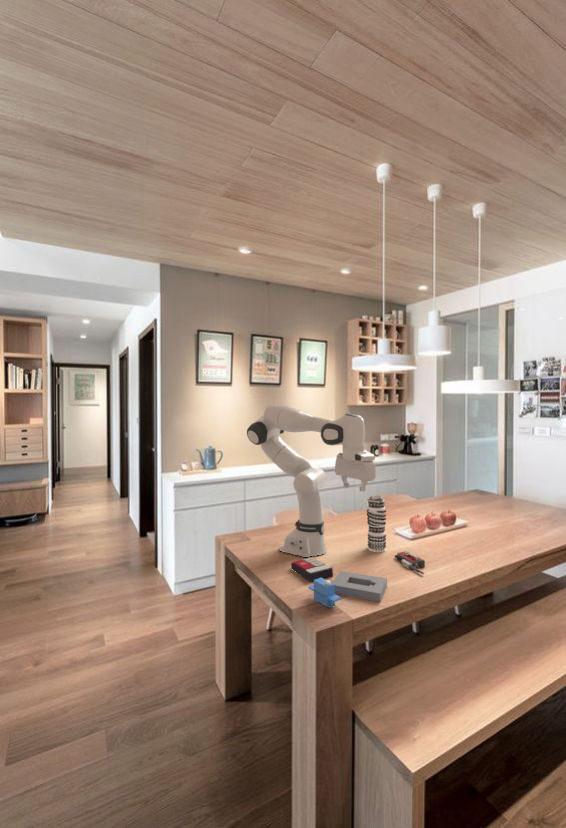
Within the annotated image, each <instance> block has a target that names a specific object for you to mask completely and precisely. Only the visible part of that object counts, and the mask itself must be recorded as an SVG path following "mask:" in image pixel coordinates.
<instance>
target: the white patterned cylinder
mask: <svg viewBox="0 0 566 828" xmlns="http://www.w3.org/2000/svg"><path fill="white" fill-rule="evenodd" d="M367 501H368V503H367V509H366V517H367V518H366V519H367V526H368V531H367V550H368V549H369V550H368V551H370V552H372V551H373V552H374V553H384V552H386V551H387V541H386V540H387V538H386V537H387V534H386V530H385V529H386V525H387V524H386V523H387V522H386V520H387V518H386V517H387V514H386V513H387V510H386V506H385V501H386V499H384V497H382V496H381V495H371V496H370V497H369V498H368V499H367ZM373 552H372V553H373Z"/></svg>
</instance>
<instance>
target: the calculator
mask: <svg viewBox="0 0 566 828" xmlns="http://www.w3.org/2000/svg"><path fill="white" fill-rule="evenodd" d="M290 565H291V570H292V569H293V570H294V571H296V572H297V573H298V574H297V573H296V572H295V573H296V574H297V575H299V574H300V575H301V577H302V578H303V579H304V580H306V581H307V580H308V581H307V582H309V583H310V582H312V583H314V580H315V579H318V578H323V579H325V580H327V579H330V578H332V577H333V578H334V572H333V567H332V566H330V565H328V564H326V563H325V562H323V561H320V560H318V559H316V558H315V557H314V556H312V557H308V558H303V559H298V560H294V561H292V563H291V564H290ZM293 570H292V571H293ZM294 571H293V572H294ZM300 575H299V576H300Z"/></svg>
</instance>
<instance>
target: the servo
mask: <svg viewBox="0 0 566 828" xmlns="http://www.w3.org/2000/svg"><path fill="white" fill-rule="evenodd" d="M308 589H309V590H311V591H312V592H313V600H314V601H315V602H317V601H318V602H320V603H322V604H324V605H325V606H330V607H333V606H335V607H336V605H335V604H336V602H338V601H340V600H341V599H342V598H341V596H339V595H338V594H335V586H334V584H333V583H332V582H331V580H329V579H323V578H318V579H315V580H314V582H313V584H311V585H309V586H308ZM318 602H317V603H318ZM320 603H319V604H320ZM322 604H321V605H322ZM325 606H324V607H325ZM330 607H329V608H330ZM333 608H334V607H333Z"/></svg>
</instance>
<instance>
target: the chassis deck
mask: <svg viewBox="0 0 566 828" xmlns="http://www.w3.org/2000/svg"><path fill="white" fill-rule="evenodd" d="M331 583H333V584H334V586H335V595H341V596H346V597H352V598H356V599H363V600H368V601H373V602H377V603H378V602H379V603H381V601H382V599H383V597H384V594H385V592H386V590H387V588H388V578H387V577H381V576H380V577H379V576H374V575H368V574H362V573H358V572H357V573H356V572H350V571H344V570H340V571H339V572H338V574H337V575H336V577H335V578H334V579H333V581H332V582H331Z"/></svg>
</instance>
